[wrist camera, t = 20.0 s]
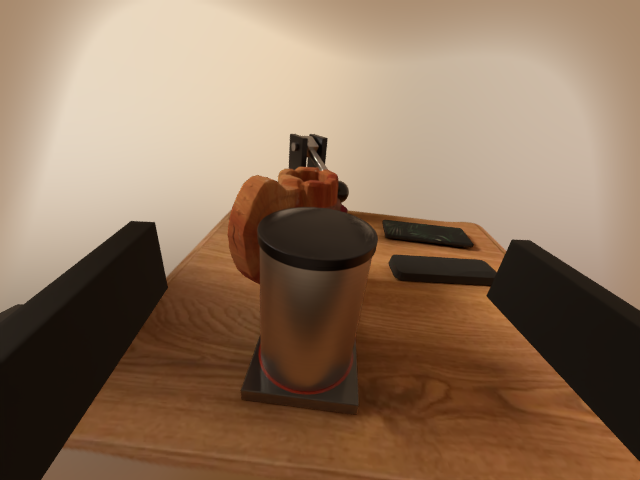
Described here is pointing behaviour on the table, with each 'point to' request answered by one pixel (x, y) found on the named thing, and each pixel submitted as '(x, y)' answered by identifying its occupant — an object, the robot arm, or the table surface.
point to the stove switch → (305, 150)
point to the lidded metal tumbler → (311, 293)
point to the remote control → (441, 270)
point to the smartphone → (426, 233)
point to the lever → (324, 167)
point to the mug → (275, 208)
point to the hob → (327, 399)
